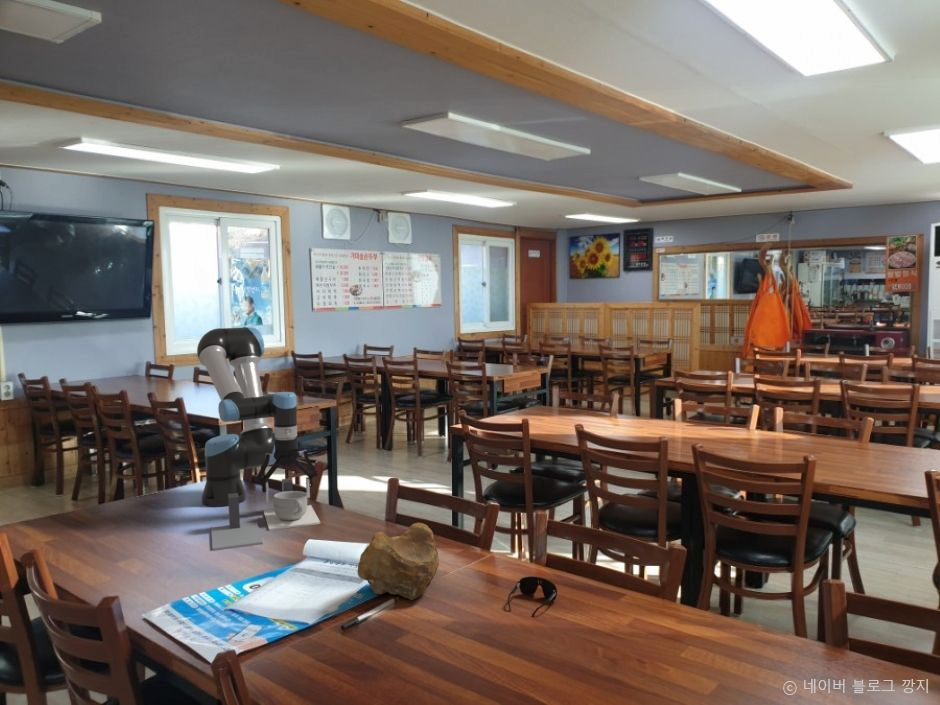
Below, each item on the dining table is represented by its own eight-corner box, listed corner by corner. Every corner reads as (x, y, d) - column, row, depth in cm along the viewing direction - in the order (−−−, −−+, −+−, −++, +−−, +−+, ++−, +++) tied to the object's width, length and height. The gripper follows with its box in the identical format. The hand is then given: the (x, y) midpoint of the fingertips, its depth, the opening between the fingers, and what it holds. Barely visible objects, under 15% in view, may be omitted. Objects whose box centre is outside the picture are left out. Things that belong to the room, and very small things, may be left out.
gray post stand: (211, 528, 224) (209, 495, 223) (256, 522, 229) (255, 490, 228) (212, 550, 205) (210, 515, 204) (262, 543, 210) (261, 509, 209)
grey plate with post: (263, 511, 241) (262, 481, 240) (310, 505, 247) (309, 476, 246) (269, 530, 221) (267, 497, 220) (320, 523, 227) (319, 491, 226)
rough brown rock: (395, 619, 162) (399, 557, 160) (348, 594, 172) (351, 535, 171) (460, 589, 180) (465, 533, 178) (414, 568, 190) (418, 515, 189)
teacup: (272, 515, 234) (271, 492, 234) (304, 510, 239) (304, 487, 238) (279, 527, 222) (278, 503, 221) (313, 522, 226) (312, 498, 226)
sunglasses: (560, 599, 170) (559, 581, 169) (541, 625, 160) (540, 606, 159) (521, 591, 175) (520, 573, 174) (501, 615, 165) (500, 597, 164)
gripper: (248, 443, 230) (250, 506, 232) (324, 436, 239) (326, 497, 241) (246, 438, 237) (249, 500, 239) (321, 432, 246) (322, 492, 248)
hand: (288, 499), depth 240 cm, fingers open, 13 cm apart
